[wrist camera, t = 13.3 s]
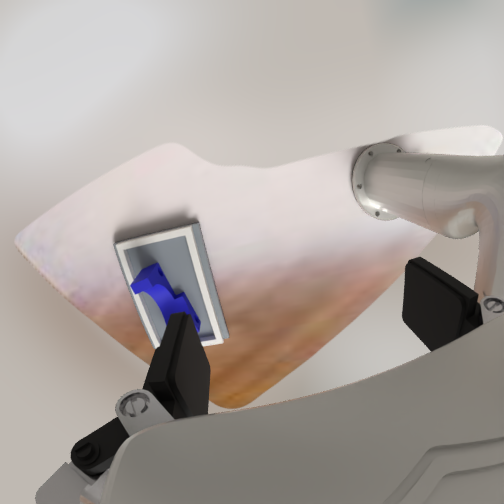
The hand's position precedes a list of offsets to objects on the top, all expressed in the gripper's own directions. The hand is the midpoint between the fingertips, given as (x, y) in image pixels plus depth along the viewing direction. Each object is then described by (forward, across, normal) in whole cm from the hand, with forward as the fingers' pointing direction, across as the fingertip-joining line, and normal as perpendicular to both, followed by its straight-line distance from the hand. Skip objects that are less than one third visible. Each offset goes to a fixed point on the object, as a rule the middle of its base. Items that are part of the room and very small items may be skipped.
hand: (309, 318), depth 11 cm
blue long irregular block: (+29, +15, +11) cm, 35 cm away
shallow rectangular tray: (+30, +15, +11) cm, 35 cm away
